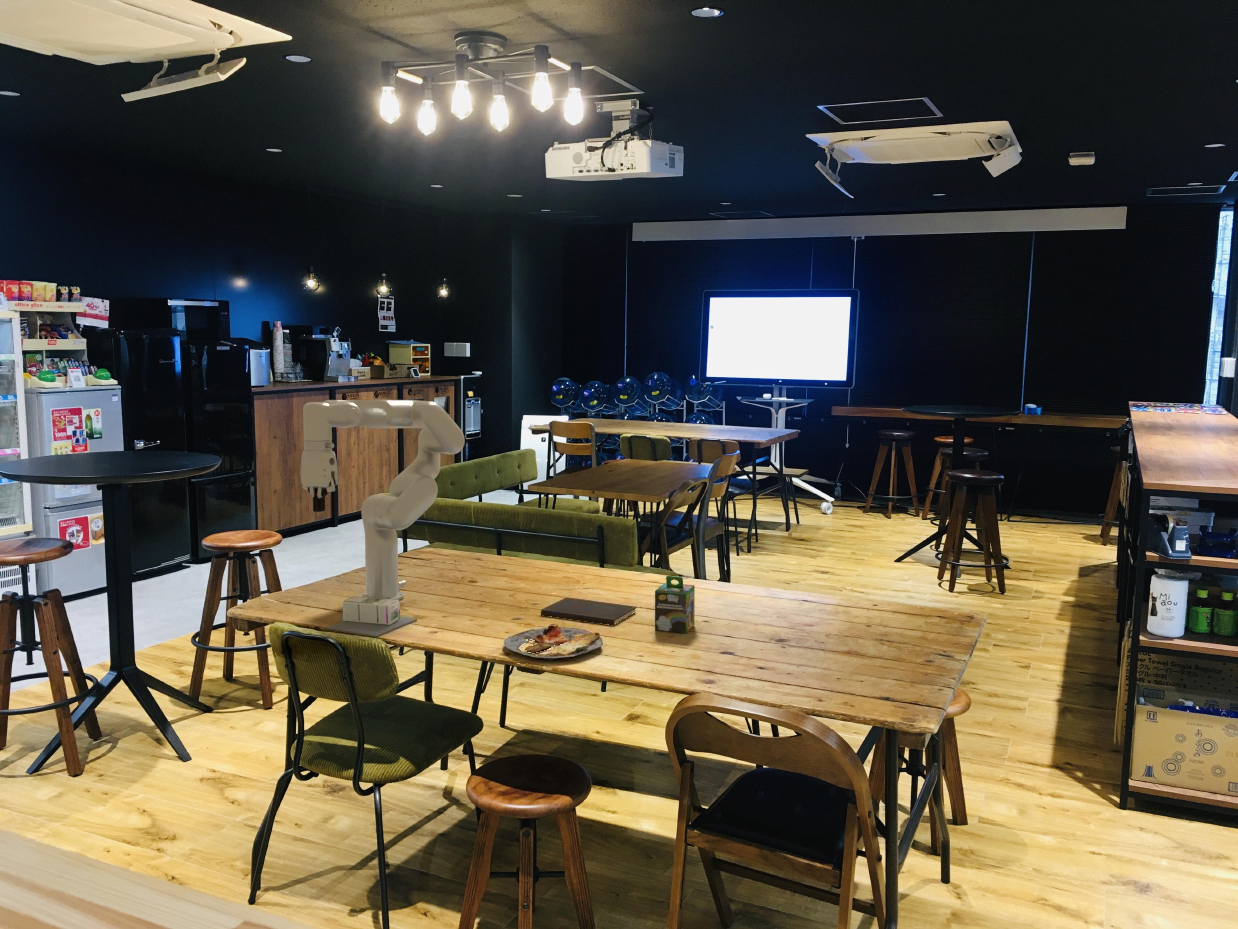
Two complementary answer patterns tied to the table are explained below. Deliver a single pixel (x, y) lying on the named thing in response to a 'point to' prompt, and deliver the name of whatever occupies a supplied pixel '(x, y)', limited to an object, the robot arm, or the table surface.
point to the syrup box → (371, 610)
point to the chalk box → (674, 606)
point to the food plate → (555, 642)
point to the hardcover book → (588, 611)
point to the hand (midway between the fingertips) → (319, 511)
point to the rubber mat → (371, 627)
